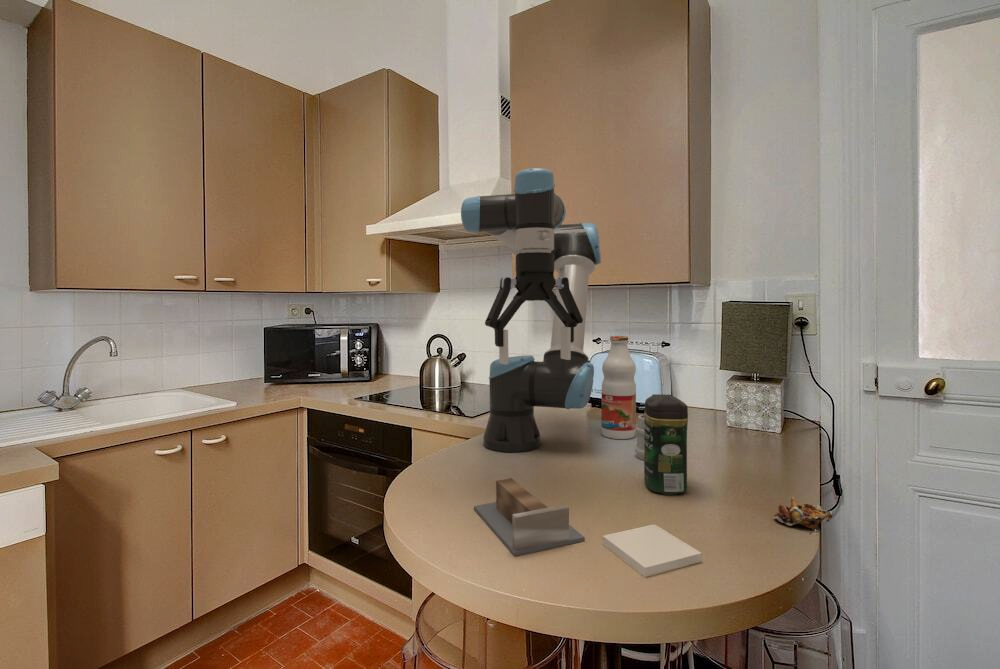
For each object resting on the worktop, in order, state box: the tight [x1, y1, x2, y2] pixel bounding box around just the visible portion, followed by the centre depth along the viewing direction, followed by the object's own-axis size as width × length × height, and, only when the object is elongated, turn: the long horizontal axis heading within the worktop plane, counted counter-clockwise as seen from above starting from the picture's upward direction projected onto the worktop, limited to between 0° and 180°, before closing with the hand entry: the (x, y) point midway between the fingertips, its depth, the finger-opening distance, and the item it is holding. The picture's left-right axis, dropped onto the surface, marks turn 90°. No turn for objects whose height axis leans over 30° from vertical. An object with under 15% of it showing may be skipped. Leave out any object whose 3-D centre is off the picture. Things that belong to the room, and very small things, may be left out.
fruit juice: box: [600, 335, 637, 440], centre depth 137 cm, size 9×9×28 cm
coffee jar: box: [643, 393, 689, 496], centre depth 98 cm, size 10×8×19 cm
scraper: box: [495, 477, 570, 550], centre depth 81 cm, size 15×9×5 cm, turn 22°
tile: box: [601, 523, 703, 578], centre depth 73 cm, size 2×10×10 cm
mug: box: [634, 413, 645, 461], centre depth 115 cm, size 8×12×12 cm, turn 160°
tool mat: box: [473, 496, 586, 557], centre depth 82 cm, size 18×12×1 cm, turn 22°
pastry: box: [773, 496, 833, 536], centre depth 84 cm, size 7×12×4 cm, turn 132°
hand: (535, 361), depth 96 cm, fingers open, 13 cm apart
